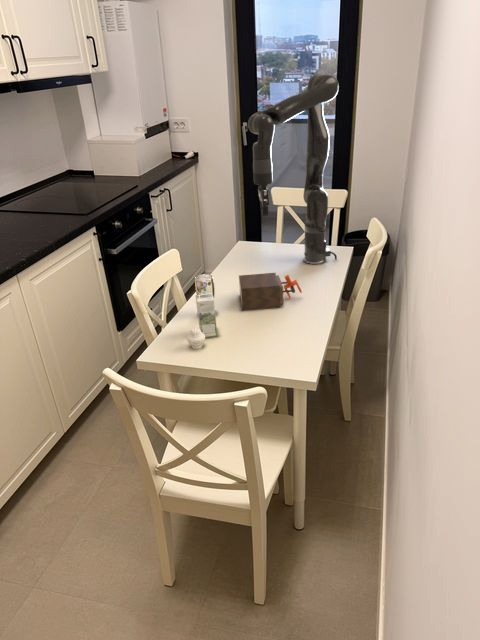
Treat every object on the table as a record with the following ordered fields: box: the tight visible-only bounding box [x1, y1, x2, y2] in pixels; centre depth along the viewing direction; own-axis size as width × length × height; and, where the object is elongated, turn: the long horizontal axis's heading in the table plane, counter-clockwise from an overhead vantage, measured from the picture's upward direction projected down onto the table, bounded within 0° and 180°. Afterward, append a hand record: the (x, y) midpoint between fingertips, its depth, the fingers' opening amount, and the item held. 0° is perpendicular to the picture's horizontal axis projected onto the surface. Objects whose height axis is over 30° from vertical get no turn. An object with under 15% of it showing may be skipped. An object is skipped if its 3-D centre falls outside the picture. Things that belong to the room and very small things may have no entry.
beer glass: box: [194, 273, 217, 315], centre depth 184 cm, size 7×7×15 cm
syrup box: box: [195, 293, 218, 339], centre depth 172 cm, size 6×6×14 cm
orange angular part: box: [283, 274, 303, 299], centre depth 193 cm, size 6×3×8 cm, turn 96°
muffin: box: [186, 327, 206, 350], centre depth 166 cm, size 6×6×7 cm
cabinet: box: [238, 272, 281, 311], centre depth 193 cm, size 15×13×9 cm
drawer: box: [276, 274, 296, 306], centre depth 193 cm, size 18×11×7 cm, turn 96°
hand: (264, 212), depth 201 cm, fingers open, 8 cm apart
